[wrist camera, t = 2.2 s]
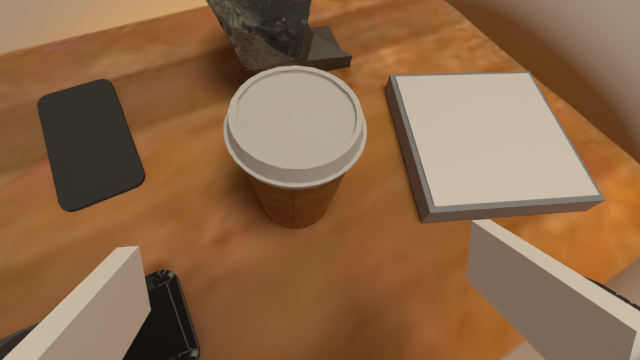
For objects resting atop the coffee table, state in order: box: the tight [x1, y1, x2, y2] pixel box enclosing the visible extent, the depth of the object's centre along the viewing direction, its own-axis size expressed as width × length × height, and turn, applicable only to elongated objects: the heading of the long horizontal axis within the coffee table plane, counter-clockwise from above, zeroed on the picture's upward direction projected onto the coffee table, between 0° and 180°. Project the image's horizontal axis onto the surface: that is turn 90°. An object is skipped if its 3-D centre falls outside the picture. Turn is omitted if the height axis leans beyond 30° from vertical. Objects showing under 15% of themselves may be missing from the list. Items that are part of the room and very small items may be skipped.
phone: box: [37, 79, 145, 212], centre depth 33 cm, size 7×1×15 cm
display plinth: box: [385, 71, 605, 223], centre depth 35 cm, size 17×17×2 cm
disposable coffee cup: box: [224, 66, 367, 228], centre depth 26 cm, size 10×10×12 cm
